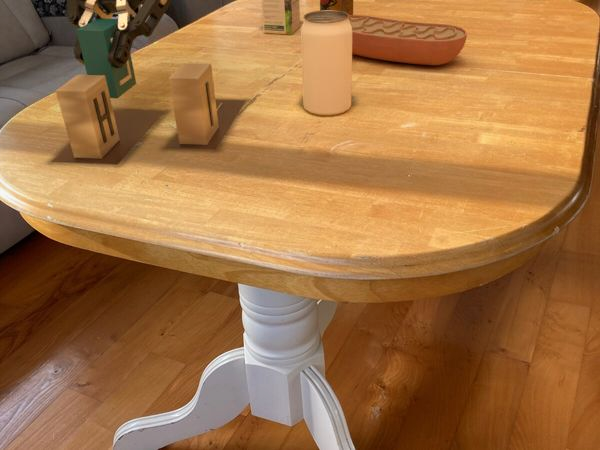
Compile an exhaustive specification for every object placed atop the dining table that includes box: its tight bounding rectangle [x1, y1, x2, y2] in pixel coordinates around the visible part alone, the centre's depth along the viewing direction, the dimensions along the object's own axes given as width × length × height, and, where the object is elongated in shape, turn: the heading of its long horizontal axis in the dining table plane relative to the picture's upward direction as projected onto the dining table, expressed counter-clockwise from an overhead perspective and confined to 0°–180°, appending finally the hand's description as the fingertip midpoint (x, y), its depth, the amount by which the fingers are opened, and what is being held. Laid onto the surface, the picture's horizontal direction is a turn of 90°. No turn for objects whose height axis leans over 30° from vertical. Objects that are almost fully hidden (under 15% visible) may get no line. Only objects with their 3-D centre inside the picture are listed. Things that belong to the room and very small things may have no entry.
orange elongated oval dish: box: [348, 14, 468, 67], centre depth 93 cm, size 23×10×5 cm, turn 59°
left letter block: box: [51, 74, 165, 166], centre depth 69 cm, size 8×15×9 cm, turn 171°
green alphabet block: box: [76, 18, 137, 99], centre depth 70 cm, size 4×5×8 cm
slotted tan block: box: [166, 62, 247, 151], centre depth 71 cm, size 6×15×9 cm, turn 171°
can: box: [300, 10, 353, 117], centre depth 75 cm, size 6×6×12 cm
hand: (98, 62), depth 68 cm, fingers closed on green alphabet block, 4 cm apart
